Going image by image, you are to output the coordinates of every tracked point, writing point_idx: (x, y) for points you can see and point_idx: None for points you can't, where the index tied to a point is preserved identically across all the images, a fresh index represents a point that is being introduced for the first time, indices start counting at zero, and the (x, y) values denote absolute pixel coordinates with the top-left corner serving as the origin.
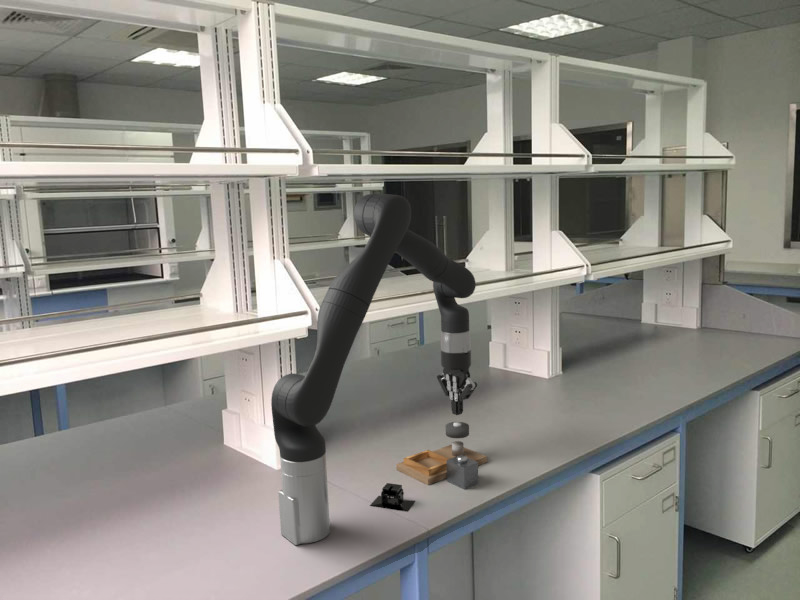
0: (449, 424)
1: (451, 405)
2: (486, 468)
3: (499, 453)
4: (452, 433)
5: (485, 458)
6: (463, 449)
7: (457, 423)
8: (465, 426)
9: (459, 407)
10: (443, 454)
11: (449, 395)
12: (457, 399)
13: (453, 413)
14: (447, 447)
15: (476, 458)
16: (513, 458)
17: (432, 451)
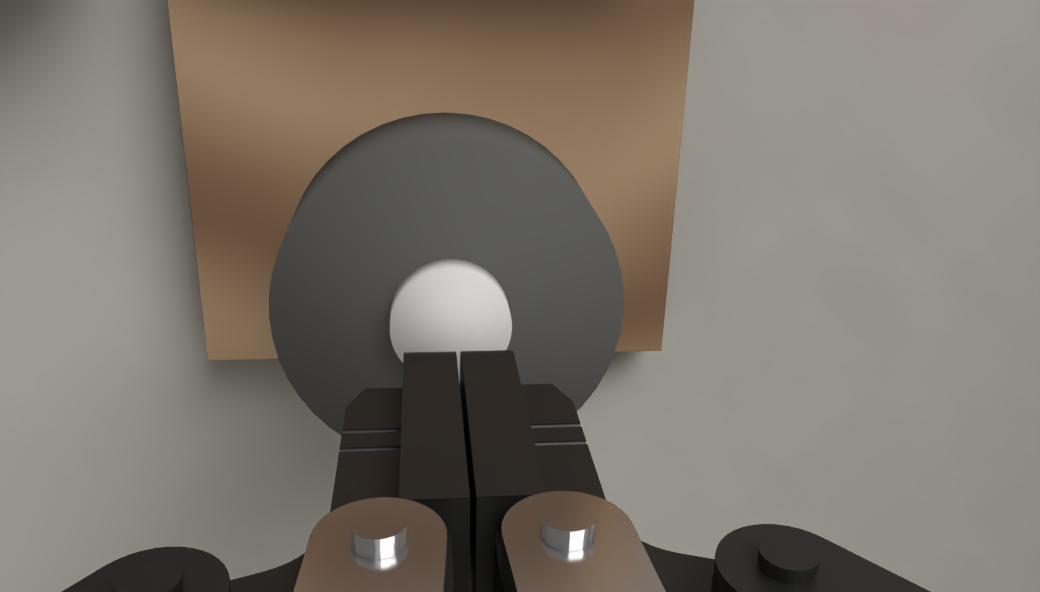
0: (575, 271)
1: (585, 445)
2: (102, 234)
3: (296, 528)
4: (379, 139)
5: (208, 334)
6: None
7: (451, 335)
8: (347, 380)
9: (339, 468)
10: (543, 80)
11: (697, 583)
12: (311, 546)
13: (480, 351)
14: (644, 237)
15: (232, 255)
16: (135, 540)
17: (686, 49)
